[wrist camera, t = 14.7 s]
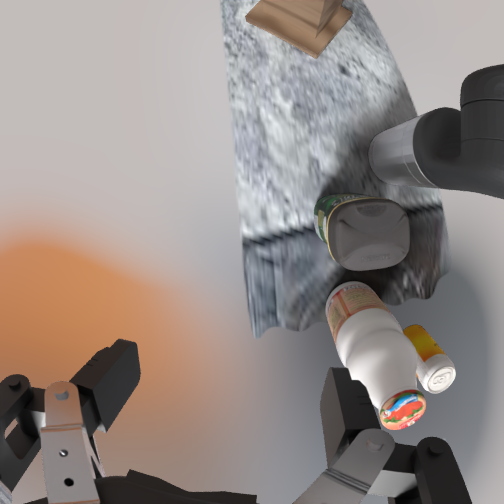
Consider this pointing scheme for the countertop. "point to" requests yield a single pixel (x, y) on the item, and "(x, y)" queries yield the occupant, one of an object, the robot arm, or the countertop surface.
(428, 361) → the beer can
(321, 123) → the countertop surface
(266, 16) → the walnut stand
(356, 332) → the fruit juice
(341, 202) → the coffee jar
